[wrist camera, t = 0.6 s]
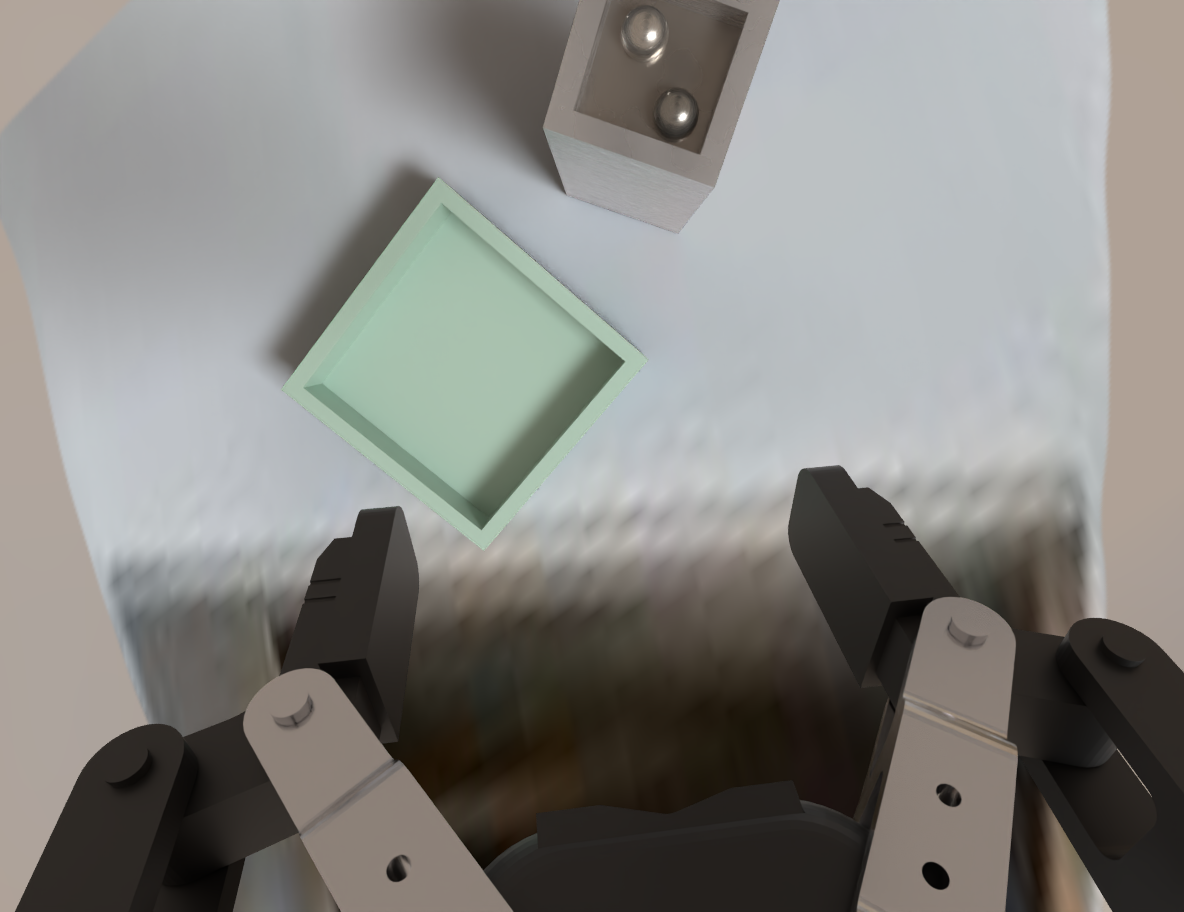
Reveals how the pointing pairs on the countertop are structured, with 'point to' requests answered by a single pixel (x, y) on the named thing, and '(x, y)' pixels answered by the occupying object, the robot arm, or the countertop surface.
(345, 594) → the robot arm
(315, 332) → the countertop surface
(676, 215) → the canister
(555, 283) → the bin
